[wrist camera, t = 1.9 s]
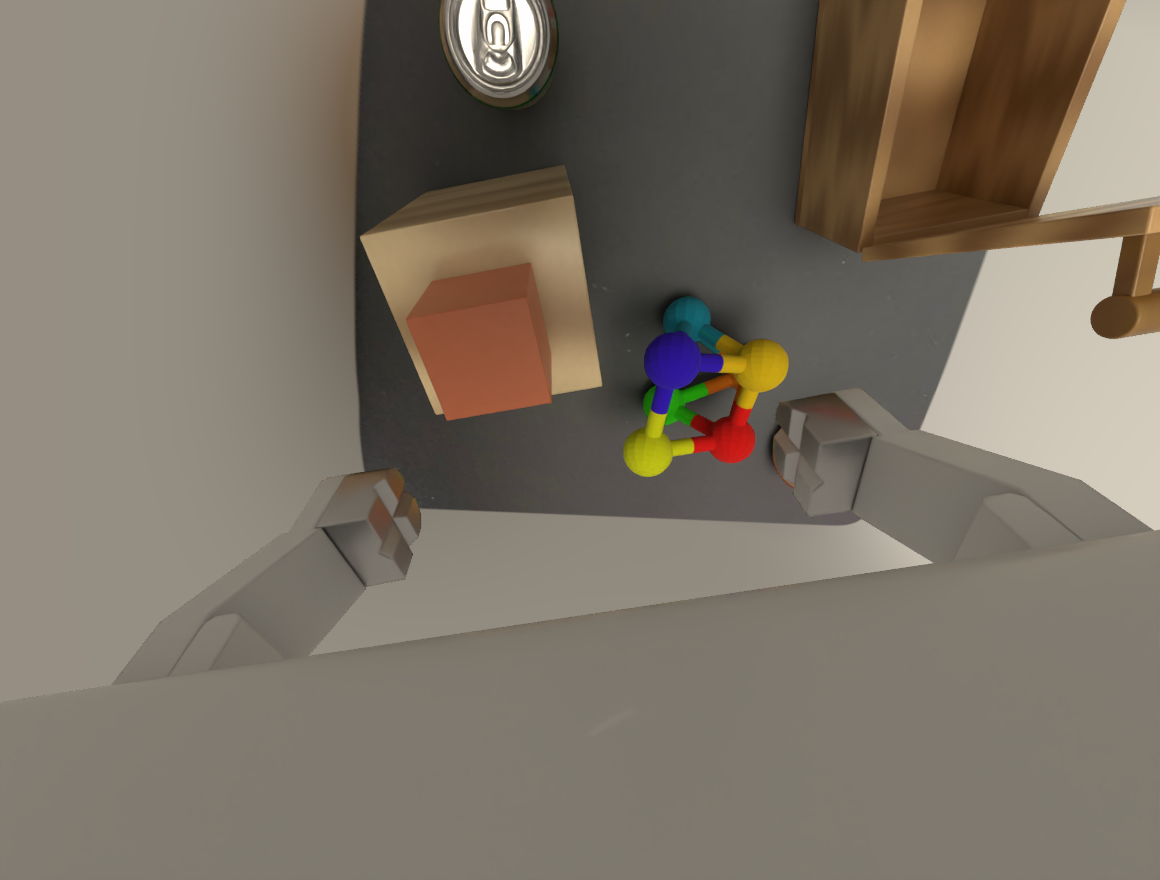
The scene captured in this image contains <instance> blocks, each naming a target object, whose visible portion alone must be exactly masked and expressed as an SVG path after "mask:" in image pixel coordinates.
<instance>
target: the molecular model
mask: <svg viewBox="0 0 1160 880" xmlns="http://www.w3.org/2000/svg"><path fill="white" fill-rule="evenodd" d="M710 324H711V317H710V311H709V309H708V307H707V306H706V305H705V303H704V302H703V301H701V300H700V299H697V298H695V297H689V296H688V297H682V298H679V299H677V300H675V301H674V302H672V303H671V304H670V306H669V307H668V308H667V309H666V311H665V314H664V319H663V327H664V331H665V333H664V334H662V335H660V336H658V337H656V338H655V339H654V340H653V341H652V342H651V343H650V344H649V346H648V347H647V349H646V352H645V355H644V368H645V372H646V374H647V376H648V377H649V378H650V380H651V381H652V382H653V383H654V384H656V385H655V386H653V387H652V388H651V389H650V390H649V391H648V392H647V393H646V395H645V396H644V400H643V409H644V413H645V415H646V416H647V417H648V420H647V424H646V427H645V428H640V429H638V430H636V431H634V432H633V433H632V434H630V436H629V437H628V438H627V439H626V441H625V444H624V448H623V454H624V460H625V462H626V465H627V466H628V467H629V469H630V470H632V471H633V472H634V473H636V474H638V475H640V476H645V477H651V476H656V475H658V474H660V473H662V472H663V471H664V470H665V469H666V468H667V467H668V466H669V464H670V462H671V460H672V457H673V456H678V455H685V454H691V453H698V452H704V451H710V453H711V454H712V455H713V456H714V457H715V458H716V459H718V460H720V461H722V462H726V463H737V462H740V461H742V460H744V459H745V458H747V457H748V456H749V455H750V454H751V453H752V451H753V449H754V446H755V433H754V430H753V428H752V427H751V425H750V424H748V423H747V420H748V418H749V415H750V413H751V410H752V408H753V405H754V403H755V401H756V398H757V396H758V393H759V392H765V391H768V390H771V389H773V388H775V387H776V386H778V385H779V384H780V383H781V382H782V381H783V380H784V378H785V376H786V374H787V371H788V364H789V361H788V356H787V353H786V352H785V351H784V349H783V348H782V347H781V346H780V345H779V344H778V343H776V342H774V341H772V340H767V339H757V340H753V341H750V342H748V343H747V344H745V345H742V344H740V343H739V342H737V341H735V340H734V339H732V338H730V337H729V336H727V335H725V334H724V333H722V332H720V331H718V330H717V329H715V328H713V327H712V326H710ZM698 341H699V342H701V343H702V344H703V345H704V346H706V347H707V348H708V349H710V350H711V351H712V352H713V353H715V354H706V353H700V350H699V347H698V345H697V343H696V342H698ZM698 372H716V373H726V374H723V375H721V376H718V377H716V378H713V379H710V380H708V381H705V382H702V383H700V384H697V385H694V386H692V387H689V388H686V389H684V390H681V391H680V390H679V388H682V387H684V386H686V385H688V384H690V383H691V382H692V381H693V380H694V378H695V377H696V376H697V374H698ZM731 386H733V388H735V389H736V390H737V391H736V395H735V398H734V401H733V405H732V408H731V412H730V415H729V416H728V417H723V418H721V419H719V420H717V421H716V422H712V421H710V420H708V419H706V418H704V417H703V416H701V415H699V414H697V413H695V412H693V411H691V410H689V409H687V408H685V404H686V403H688V402H691V401H694V400H696V399H699V398H702V397H704V396H707V395H710V394H712V393H715V392H718V391H721V390H723V389H726V388H729V387H731ZM677 420H679V421H681V422H683V423H685V424H686V425H688V426H690V427H692V428H694V429H696V430H697V431H699V432H701V433H703V434H705V435H706V436H699V437H692V438H685V439H678V440H671V441H670V440H669V438H668V437H667V436H666V434H664V433H663V429H664V425H668V424H672V423H674V422H676V421H677Z"/></svg>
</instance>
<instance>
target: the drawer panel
mask: <svg viewBox="0 0 1160 880" xmlns="http://www.w3.org/2000/svg"><path fill="white" fill-rule="evenodd" d="M1115 237H1123V242H1122V248H1121V252H1120V258H1119V263H1118V268H1117V273H1116V278H1115V284H1114V288H1113V294H1112V296H1111V297H1108V298H1106V299H1104V300H1102V301H1101V302H1099V303H1098V304H1097V305H1096V306H1095V308H1094V310H1093V311H1092V314H1091V325H1092V328H1093V329H1094V331H1095V332H1096V333H1097V334H1098V335H1100V336H1102V337H1105V338H1109V339H1118V338H1124V337H1129V336H1136V335H1142V334H1147V333H1154V332H1159V331H1160V288H1155V289H1152V287H1153V283H1154V278H1155V273H1156V269H1157V264H1158V260H1159V255H1160V196H1158V197H1153V198H1146V199H1140V200H1133V201H1128V202H1121V203H1115V204H1109V205H1102V206H1096V207H1090V208H1084V209H1078V210H1071V211H1065V212H1059V213H1052V214H1046V215H1041V216H1035V217H1029V218H1024V219H1019V220H1013V221H1008V222H1002V223H997V224H991V225H986V226H980V227H975V228H969V229H964V230H958V231H953V232H947V233H942V234H936V235H931V236H925V237H920V238H914V239H909V240H903V241H898V242H892V243H887V244H881V245H876V246H871V247H865V248H863V249H862V262H867V261H877V260H888V259H898V258H908V257H919V256H929V255H939V254H950V253H960V252H970V251H981V250H991V249H1001V248H1012V247H1022V246H1032V245H1043V244H1052V243H1063V242H1074V241H1084V240H1094V239H1104V238H1115Z"/></svg>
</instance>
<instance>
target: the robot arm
mask: <svg viewBox="0 0 1160 880" xmlns="http://www.w3.org/2000/svg"><path fill="white" fill-rule="evenodd" d="M776 421H777V422H778V424H779V425H780V426H781V429H780V430H779V431H778V432H777V433H776V435H775V436H774V438H773V454H774V460H775V464H776V466H777V469H778V471H779V473H780V474H781V476H782V478H783V479H784V480H786V481H788V482H790V483H792V484H794V489H793V495H794V496H795V498H796V499H797V501H798V502H799V504H800V505H801V507H802V508H803V510H804V511H805V513H806V514H807V516H808V517H810V516H817V515H825V514H833V513H840V512H848V511H852V513H853V514H854V515H856V516H858V517H859V518H861V519H863V520H864V521H866V522H868V523H869V524H871V525H872V526H874V527H876V528H877V529H879V530H881V531H882V532H884V533H886V534H888V535H889V536H891V537H892V538H894V539H895V540H897V541H899V542H900V543H902V544H904V545H905V546H907V547H909V548H910V549H912V550H913V551H915V552H917V553H918V554H920V555H922V556H923V557H925V558H927V559H928V560H930V561H932V562H933V564H926V565H919V566H912V567H906V568H899V569H892V570H886V571H880V572H873V573H865V574H859V575H852V576H845V577H839V578H832V579H825V580H819V581H812V582H805V583H798V584H791V585H784V586H778V587H771V588H764V589H757V590H751V591H744V592H738V593H730V594H724V595H717V596H710V597H704V598H697V599H690V600H683V601H677V602H669V603H663V604H656V605H649V606H642V607H636V608H629V609H622V610H615V611H609V612H602V613H595V614H588V615H583V616H575V617H569V618H562V619H555V620H548V621H542V622H535V623H528V624H521V625H515V626H508V627H501V628H495V629H488V630H481V631H474V632H467V633H461V634H454V635H448V636H440V637H434V638H427V639H421V640H413V641H407V642H401V643H393V644H387V645H380V646H373V647H366V648H359V649H354V650H347V651H340V652H332V653H326V654H319V655H312V656H309V655H310V653H311V652H312V651H313V650H314V649H315V648H316V646H317V645H318V644H319V643H320V642H321V641H322V640H323V638H324V637H325V636H326V635H327V634H328V632H329V631H330V630H331V629H332V628H333V627H334V626H335V624H336V623H337V622H338V621H339V620H340V619H341V617H342V616H343V615H344V614H345V613H346V611H347V610H348V609H349V608H350V607H351V606H352V605H353V604H354V602H355V601H356V600H357V599H358V598H359V596H360V595H361V594H362V593H363V592H364V591H365V590H366V587H367V586H373V585H378V584H383V583H388V582H394V581H400V580H405V578H406V574H407V571H408V568H409V565H410V562H411V559H412V556H413V553H412V552H411V550H410V548H409V546H410V545H411V544H412V543H413V542H414V541H415V540H416V539H417V538H418V536H419V533H420V529H421V513H420V509H419V506H418V503H417V501H416V499H415V497H414V496H412V495H411V494H409V493H407V492H406V491H404V490H403V489H404V486H405V483H406V481H405V479H404V477H403V475H402V474H401V472H400V470H398V469H396V468H387V469H380V470H373V471H367V472H360V473H354V474H349V475H341V476H335V477H329V478H327V479H325V480H322V481H321V483H320V484H319V486H318V487H317V489H316V490H315V492H314V494H313V495H312V497H311V498H310V500H309V502H308V503H307V505H306V506H305V508H304V510H303V511H302V512H301V514H300V516H299V517H298V519H297V520H296V522H295V523H294V525H293V527H292V528H291V530H290V531H289V533H285V534H281V535H279V536H278V537H277V538H275V539H274V540H272V541H271V542H270V543H268V544H267V545H266V546H264V547H263V548H261V549H260V550H259V551H257V552H256V553H255V554H254V555H252V556H251V557H249V558H248V559H246V560H245V561H244V562H242V563H241V564H239V565H238V566H237V567H235V568H234V569H233V570H231V571H230V572H228V573H227V574H226V575H224V576H223V577H222V578H220V579H219V580H217V581H216V582H215V583H213V584H212V585H211V586H209V587H208V588H206V589H205V590H204V591H202V592H201V593H200V594H198V595H197V596H195V597H194V598H193V599H191V600H190V601H189V602H187V603H186V604H184V605H183V606H182V607H181V608H179V609H178V610H176V611H175V612H173V613H172V614H171V615H169V616H168V617H167V618H165V619H164V620H162V621H161V622H160V623H159V624H158V626H157V627H156V628H155V629H154V630H153V632H152V633H151V634H150V636H149V637H148V638H147V640H146V641H145V642H144V643H143V645H142V646H141V647H140V649H139V650H138V651H137V652H136V654H135V655H134V656H133V658H132V659H131V660H130V661H129V663H128V664H127V666H126V667H125V668H124V669H123V671H122V672H121V673H120V674H119V676H118V677H117V678H116V680H115V681H114V682H113V684H112V685H111V686H103V687H97V688H91V689H83V690H76V691H70V692H63V693H57V694H50V695H43V696H36V697H29V698H23V699H16V700H9V701H2V702H0V880H1160V530H1156V531H1154V530H1153V529H1151V528H1149V527H1148V526H1147V525H1145V524H1144V523H1142V522H1141V521H1139V520H1138V519H1137V518H1135V517H1134V516H1132V515H1131V514H1129V513H1128V512H1126V511H1125V510H1123V509H1122V508H1121V507H1119V506H1118V505H1116V504H1115V503H1113V502H1112V501H1110V500H1108V499H1107V498H1106V497H1105V496H1103V495H1101V494H1100V493H1099V492H1097V491H1096V490H1094V489H1093V488H1091V487H1090V486H1089V485H1087V484H1086V483H1084V482H1083V481H1081V480H1079V479H1075V478H1072V477H1069V476H1066V475H1063V474H1059V473H1056V472H1053V471H1050V470H1046V469H1043V468H1040V467H1036V466H1034V465H1030V464H1027V463H1024V462H1021V461H1018V460H1014V459H1011V458H1008V457H1005V456H1001V455H998V454H995V453H992V452H989V451H985V450H982V449H979V448H976V447H973V446H969V445H966V444H963V443H960V442H957V441H953V440H950V439H947V438H944V437H941V436H937V435H934V434H931V433H927V432H924V431H921V430H912V431H909V430H908V429H907V428H906V427H905V426H904V425H902V424H901V423H900V422H899V421H898V420H897V419H895V418H894V417H893V416H892V415H891V414H890V413H888V412H887V411H886V410H885V409H884V408H883V407H882V406H880V405H879V404H878V403H877V402H876V401H875V400H873V399H872V398H871V397H870V396H869V395H868V394H866V393H865V392H864V391H863V390H862V389H858V388H850V389H845V390H841V391H836V392H831V393H829V394H823V395H818V396H812V397H807V398H801V399H796V400H790V401H785V402H780V403H779V405H778V407H777V411H776Z"/></svg>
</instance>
